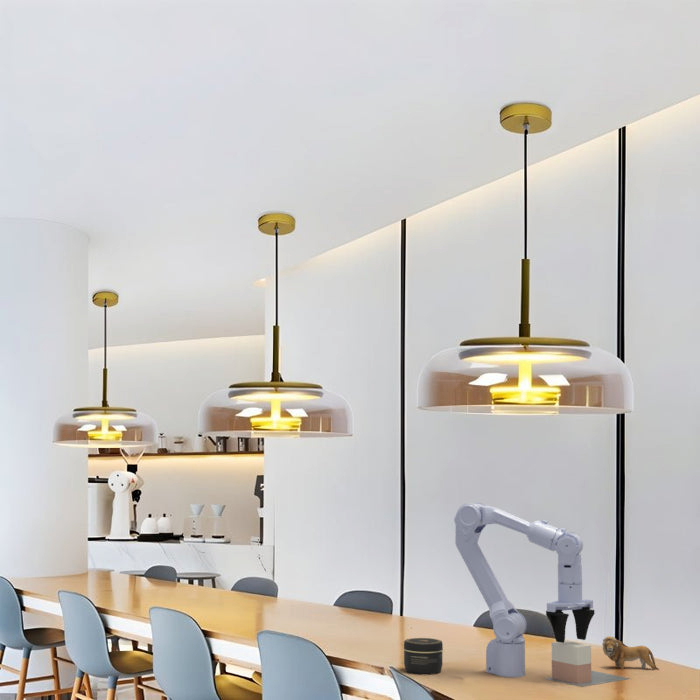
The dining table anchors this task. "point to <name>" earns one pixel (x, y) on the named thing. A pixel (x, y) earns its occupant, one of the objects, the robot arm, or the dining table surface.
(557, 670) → the terracotta brick
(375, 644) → the dining table surface
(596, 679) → the baseplate
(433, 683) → the dining table surface
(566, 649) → the cream brick
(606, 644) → the lion figurine
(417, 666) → the jar
